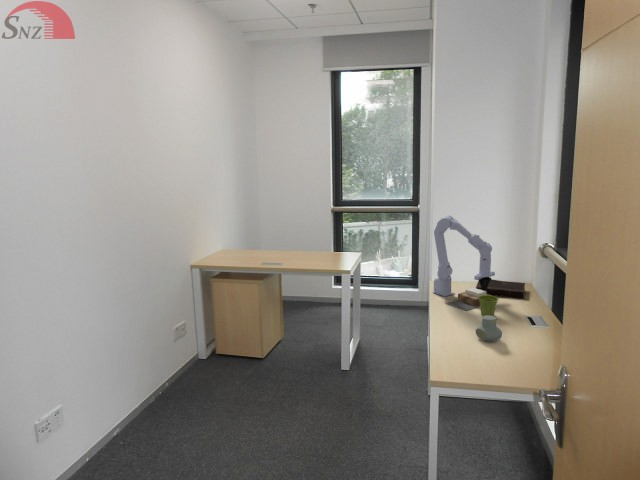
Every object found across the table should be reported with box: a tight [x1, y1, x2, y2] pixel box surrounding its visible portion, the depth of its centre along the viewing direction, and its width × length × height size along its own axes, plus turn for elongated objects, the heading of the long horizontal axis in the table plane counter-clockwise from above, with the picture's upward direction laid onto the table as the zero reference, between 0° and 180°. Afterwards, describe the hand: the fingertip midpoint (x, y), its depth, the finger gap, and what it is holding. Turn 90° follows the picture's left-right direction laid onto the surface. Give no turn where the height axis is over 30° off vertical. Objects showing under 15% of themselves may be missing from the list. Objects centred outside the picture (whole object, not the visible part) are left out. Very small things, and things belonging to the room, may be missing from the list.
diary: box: [475, 278, 526, 300], centre depth 269 cm, size 19×25×5 cm
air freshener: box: [475, 315, 503, 343], centre depth 205 cm, size 11×8×10 cm
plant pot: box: [478, 295, 499, 317], centre depth 233 cm, size 9×9×9 cm
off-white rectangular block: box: [464, 287, 486, 297], centre depth 254 cm, size 9×6×2 cm, turn 33°
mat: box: [445, 299, 478, 312], centre depth 248 cm, size 14×8×1 cm, turn 33°
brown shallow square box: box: [457, 291, 491, 308], centre depth 254 cm, size 12×12×4 cm
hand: (484, 290), depth 257 cm, fingers closed
